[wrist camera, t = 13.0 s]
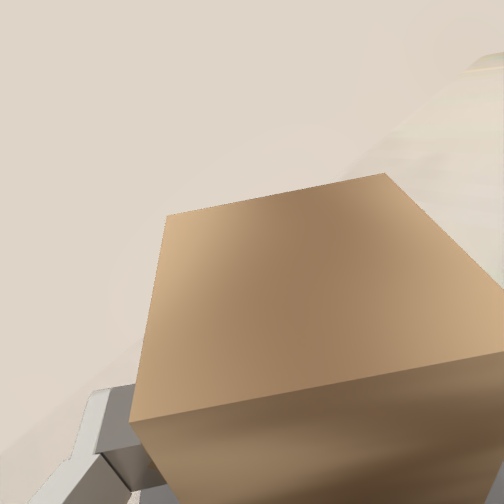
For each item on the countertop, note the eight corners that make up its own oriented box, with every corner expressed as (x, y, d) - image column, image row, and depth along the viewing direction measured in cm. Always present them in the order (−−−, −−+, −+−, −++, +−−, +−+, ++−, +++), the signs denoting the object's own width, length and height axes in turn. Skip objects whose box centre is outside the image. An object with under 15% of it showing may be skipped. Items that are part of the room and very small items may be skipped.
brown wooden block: (278, 656, 12) (128, 422, 4) (260, 491, 16) (167, 215, 8) (428, 629, 12) (556, 341, 4) (372, 470, 16) (384, 173, 8)
